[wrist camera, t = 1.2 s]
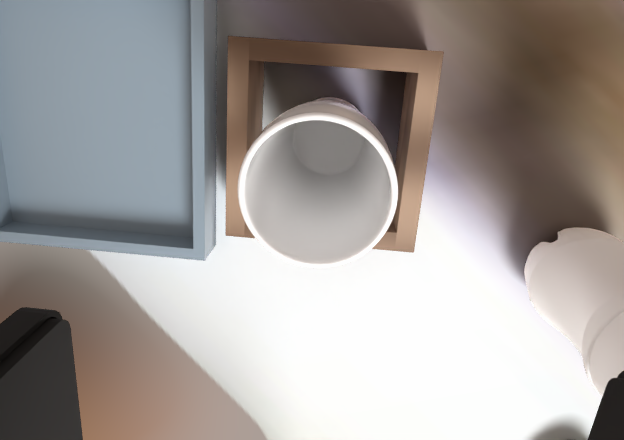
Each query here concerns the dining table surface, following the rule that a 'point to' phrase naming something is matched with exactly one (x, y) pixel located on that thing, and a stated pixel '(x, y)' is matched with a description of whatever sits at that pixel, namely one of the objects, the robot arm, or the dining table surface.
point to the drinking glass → (318, 184)
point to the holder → (417, 63)
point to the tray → (109, 125)
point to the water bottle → (583, 296)
